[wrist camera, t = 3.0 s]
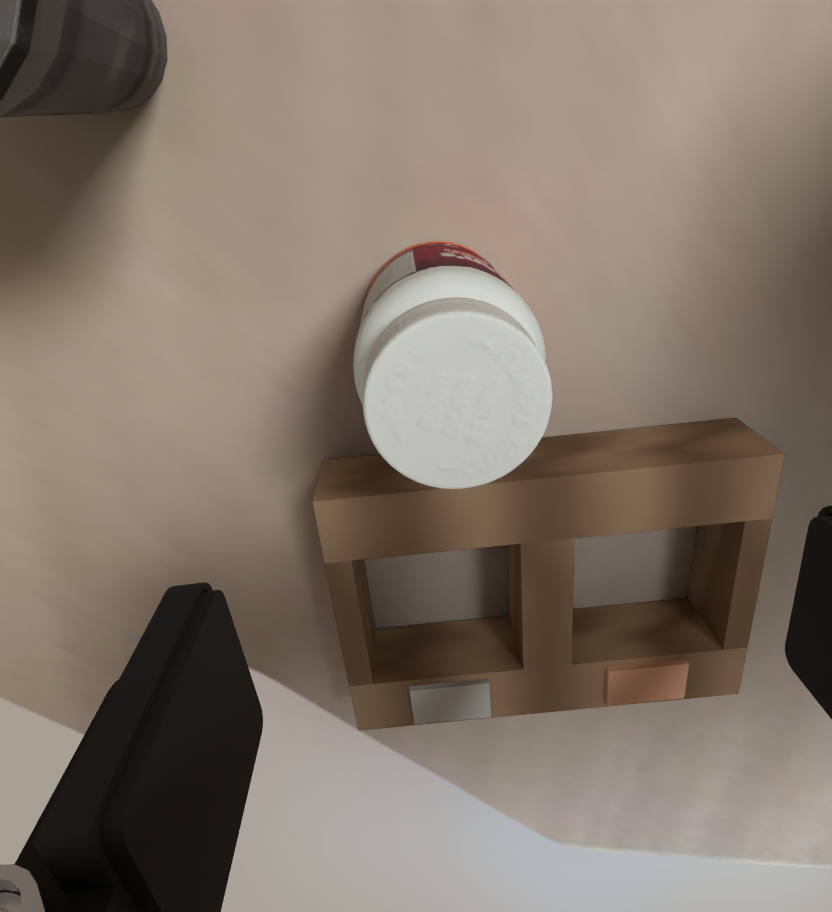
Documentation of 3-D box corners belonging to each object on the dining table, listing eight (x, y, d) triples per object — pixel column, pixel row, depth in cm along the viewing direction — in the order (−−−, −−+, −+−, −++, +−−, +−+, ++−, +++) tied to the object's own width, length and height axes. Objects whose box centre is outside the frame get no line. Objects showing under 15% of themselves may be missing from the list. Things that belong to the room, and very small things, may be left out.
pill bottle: (533, 295, 26) (624, 379, 16) (448, 404, 28) (480, 541, 18) (417, 206, 24) (435, 236, 14) (336, 330, 26) (300, 434, 16)
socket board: (735, 417, 29) (789, 457, 25) (702, 639, 35) (741, 698, 31) (322, 460, 29) (311, 505, 25) (362, 672, 35) (357, 735, 31)
